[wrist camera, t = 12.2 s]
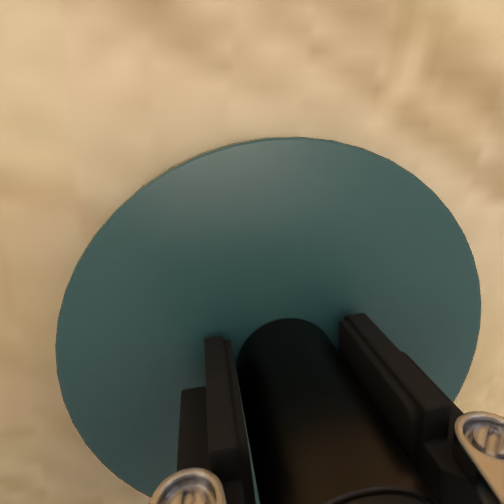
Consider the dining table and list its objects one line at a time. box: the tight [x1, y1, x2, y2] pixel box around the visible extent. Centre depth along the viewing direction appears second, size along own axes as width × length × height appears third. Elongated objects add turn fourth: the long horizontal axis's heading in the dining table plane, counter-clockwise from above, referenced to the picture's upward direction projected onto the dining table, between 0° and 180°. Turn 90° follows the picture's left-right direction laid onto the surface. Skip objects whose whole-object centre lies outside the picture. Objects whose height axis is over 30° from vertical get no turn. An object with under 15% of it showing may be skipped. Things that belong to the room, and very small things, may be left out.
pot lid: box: [55, 137, 481, 504], centre depth 9 cm, size 13×13×7 cm
